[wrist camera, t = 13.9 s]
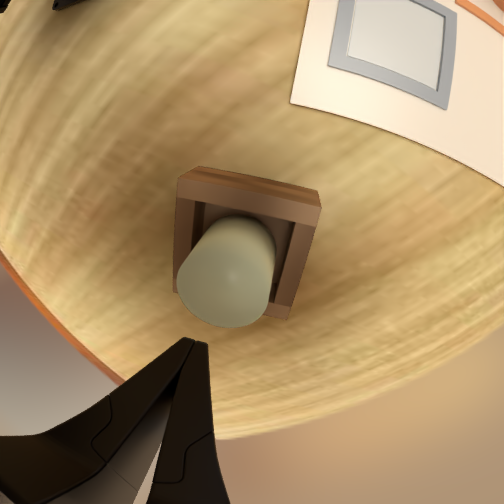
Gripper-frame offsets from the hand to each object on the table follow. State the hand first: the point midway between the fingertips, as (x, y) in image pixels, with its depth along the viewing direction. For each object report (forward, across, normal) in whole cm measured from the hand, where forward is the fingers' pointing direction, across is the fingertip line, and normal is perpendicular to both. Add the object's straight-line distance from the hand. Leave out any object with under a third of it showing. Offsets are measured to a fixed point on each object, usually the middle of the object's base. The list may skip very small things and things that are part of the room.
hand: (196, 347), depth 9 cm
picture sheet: (+10, -9, -19) cm, 23 cm away
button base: (+10, 0, 0) cm, 10 cm away
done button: (+7, 0, 0) cm, 7 cm away
